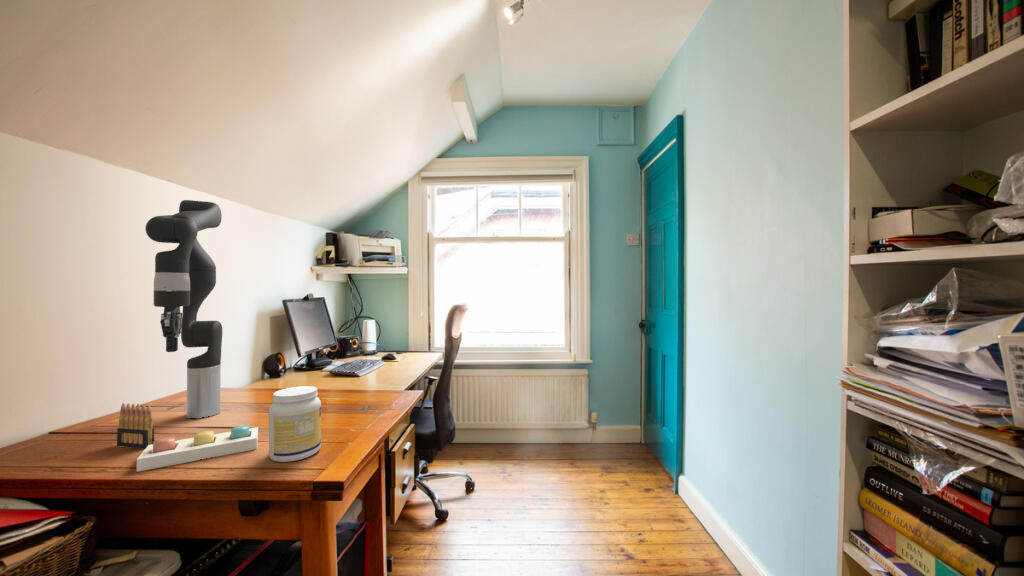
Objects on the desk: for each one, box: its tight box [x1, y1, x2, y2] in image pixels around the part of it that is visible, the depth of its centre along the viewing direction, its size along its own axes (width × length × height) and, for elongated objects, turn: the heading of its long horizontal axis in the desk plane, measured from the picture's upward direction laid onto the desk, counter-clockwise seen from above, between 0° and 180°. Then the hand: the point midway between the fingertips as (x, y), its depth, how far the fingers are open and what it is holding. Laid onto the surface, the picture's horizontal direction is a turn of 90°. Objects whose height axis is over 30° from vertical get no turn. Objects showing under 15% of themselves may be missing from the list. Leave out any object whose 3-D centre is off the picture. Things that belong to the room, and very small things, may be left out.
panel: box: [136, 426, 259, 472], centre depth 101 cm, size 10×24×3 cm, turn 123°
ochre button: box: [193, 430, 215, 446], centre depth 101 cm, size 4×4×4 cm
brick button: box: [153, 436, 176, 453], centre depth 96 cm, size 4×4×4 cm
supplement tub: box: [268, 385, 322, 463], centre depth 100 cm, size 12×12×17 cm
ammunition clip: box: [116, 402, 155, 450], centre depth 105 cm, size 11×2×12 cm, turn 80°
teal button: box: [230, 424, 250, 440], centre depth 105 cm, size 4×4×4 cm
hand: (171, 351), depth 103 cm, fingers closed
